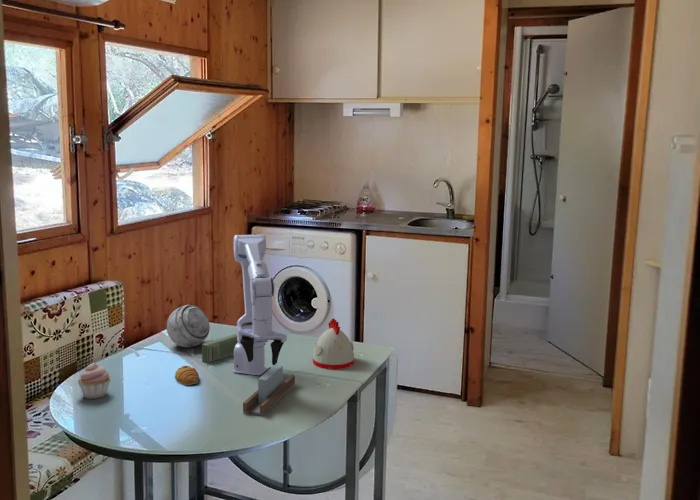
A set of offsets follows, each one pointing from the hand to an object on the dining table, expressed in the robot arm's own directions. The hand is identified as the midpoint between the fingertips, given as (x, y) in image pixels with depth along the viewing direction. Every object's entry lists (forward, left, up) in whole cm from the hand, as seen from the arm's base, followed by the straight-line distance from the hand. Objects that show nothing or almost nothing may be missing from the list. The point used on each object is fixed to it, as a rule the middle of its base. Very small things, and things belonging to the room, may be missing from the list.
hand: (262, 362), depth 200 cm
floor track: (+4, -4, -9) cm, 11 cm away
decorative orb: (-42, +30, -9) cm, 53 cm away
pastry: (-26, +2, -10) cm, 28 cm away
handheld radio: (-24, +29, -10) cm, 39 cm away
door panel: (+4, -3, -8) cm, 10 cm away
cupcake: (-45, -18, -10) cm, 49 cm away
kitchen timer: (+12, +31, -10) cm, 35 cm away
